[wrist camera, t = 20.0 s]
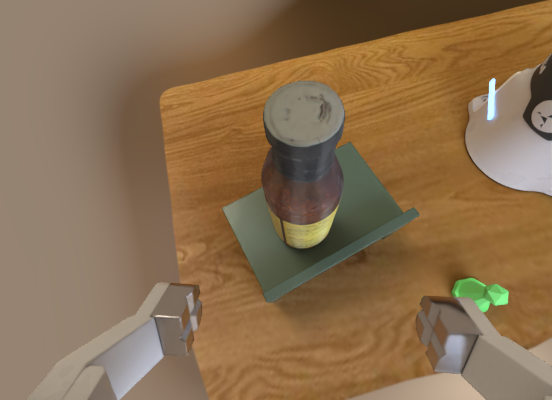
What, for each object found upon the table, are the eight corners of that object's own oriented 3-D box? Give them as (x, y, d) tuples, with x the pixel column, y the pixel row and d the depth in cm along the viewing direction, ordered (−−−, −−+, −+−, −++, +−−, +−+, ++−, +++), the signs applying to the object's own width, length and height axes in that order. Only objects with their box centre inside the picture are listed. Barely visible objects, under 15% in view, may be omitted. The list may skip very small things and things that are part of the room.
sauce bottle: (339, 219, 32) (408, 103, 13) (307, 263, 30) (334, 202, 12) (293, 187, 34) (297, 44, 15) (260, 227, 32) (219, 124, 13)
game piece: (488, 317, 34) (528, 320, 28) (451, 310, 35) (483, 312, 29) (486, 281, 36) (523, 277, 30) (450, 274, 36) (480, 270, 30)
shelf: (340, 166, 42) (354, 129, 33) (389, 235, 38) (420, 214, 29) (232, 223, 40) (216, 200, 31) (273, 302, 36) (267, 303, 27)
